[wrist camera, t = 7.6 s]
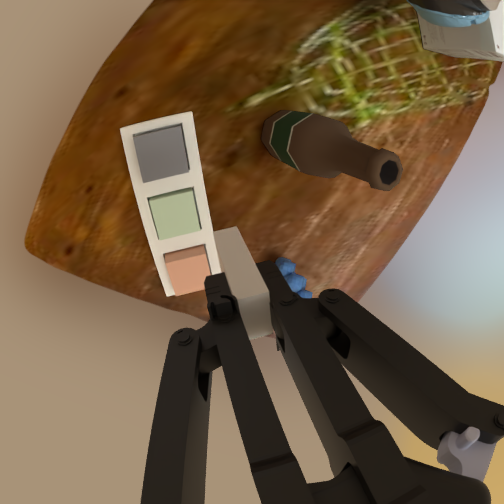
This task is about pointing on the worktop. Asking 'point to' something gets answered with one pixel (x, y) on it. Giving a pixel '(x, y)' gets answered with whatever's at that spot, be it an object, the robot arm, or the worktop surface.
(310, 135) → the beer bottle
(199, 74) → the worktop surface
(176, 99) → the worktop surface
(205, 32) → the worktop surface
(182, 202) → the sage button
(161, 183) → the console
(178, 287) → the terracotta button
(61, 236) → the worktop surface
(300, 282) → the grapes
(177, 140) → the charcoal button
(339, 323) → the robot arm
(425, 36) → the supplement box
